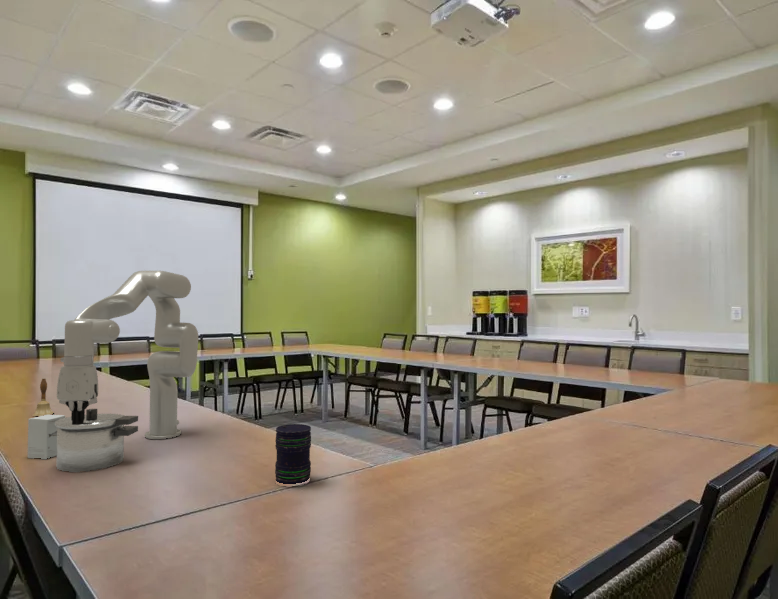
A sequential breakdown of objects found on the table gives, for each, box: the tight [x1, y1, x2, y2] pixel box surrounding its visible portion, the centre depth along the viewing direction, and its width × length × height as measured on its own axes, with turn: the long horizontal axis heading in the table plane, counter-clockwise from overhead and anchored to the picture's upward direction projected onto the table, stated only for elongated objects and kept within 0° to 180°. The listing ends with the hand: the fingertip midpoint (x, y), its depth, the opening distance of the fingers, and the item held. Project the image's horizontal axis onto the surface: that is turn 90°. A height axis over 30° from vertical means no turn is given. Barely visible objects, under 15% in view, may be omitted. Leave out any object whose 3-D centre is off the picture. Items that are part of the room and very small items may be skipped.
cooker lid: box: [55, 408, 139, 430], centre depth 161 cm, size 19×22×4 cm
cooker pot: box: [55, 425, 139, 473], centre depth 161 cm, size 19×22×12 cm
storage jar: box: [274, 423, 312, 484], centre depth 145 cm, size 10×10×15 cm
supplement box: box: [27, 414, 66, 460], centre depth 168 cm, size 7×7×13 cm
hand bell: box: [32, 378, 55, 417], centre depth 229 cm, size 8×8×16 cm
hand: (77, 423), depth 154 cm, fingers closed
